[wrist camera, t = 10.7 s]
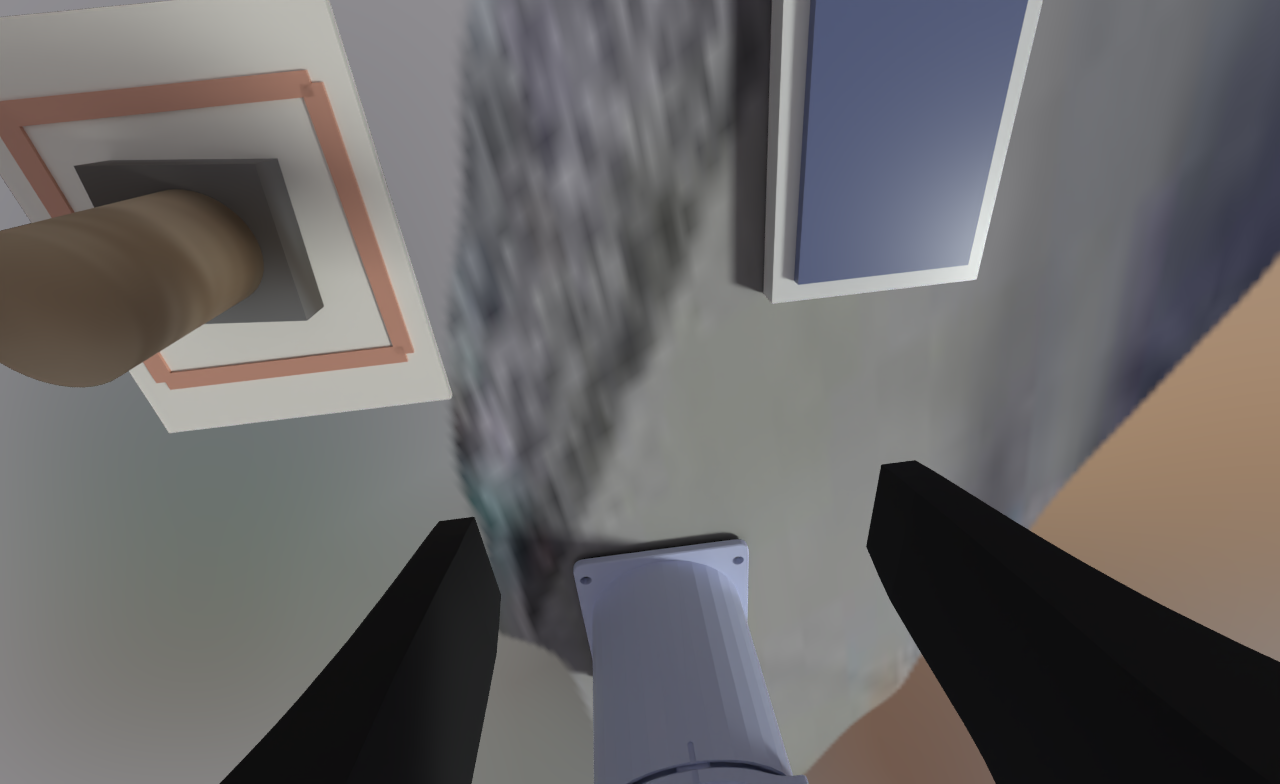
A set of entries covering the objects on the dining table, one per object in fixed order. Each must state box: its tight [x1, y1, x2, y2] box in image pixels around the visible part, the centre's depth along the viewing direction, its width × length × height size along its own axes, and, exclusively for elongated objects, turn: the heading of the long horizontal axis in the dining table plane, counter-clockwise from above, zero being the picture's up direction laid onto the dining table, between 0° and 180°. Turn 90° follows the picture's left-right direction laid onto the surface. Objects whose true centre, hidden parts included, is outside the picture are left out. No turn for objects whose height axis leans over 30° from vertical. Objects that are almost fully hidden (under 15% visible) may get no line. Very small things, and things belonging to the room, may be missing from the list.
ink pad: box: [763, 0, 1043, 304], centre depth 16 cm, size 9×7×1 cm
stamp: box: [0, 158, 324, 387], centre depth 13 cm, size 4×4×6 cm
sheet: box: [0, 0, 453, 433], centre depth 16 cm, size 12×10×1 cm
